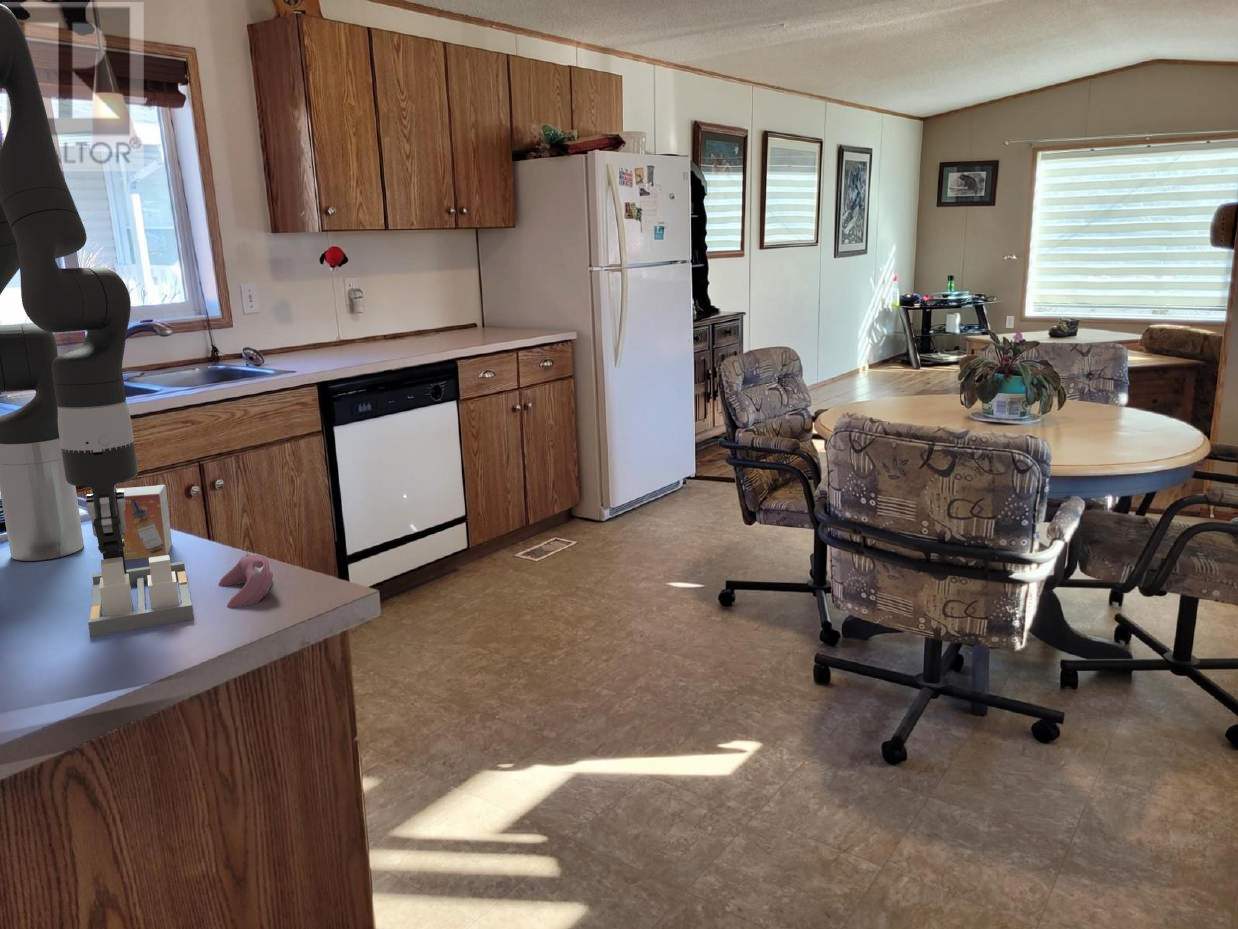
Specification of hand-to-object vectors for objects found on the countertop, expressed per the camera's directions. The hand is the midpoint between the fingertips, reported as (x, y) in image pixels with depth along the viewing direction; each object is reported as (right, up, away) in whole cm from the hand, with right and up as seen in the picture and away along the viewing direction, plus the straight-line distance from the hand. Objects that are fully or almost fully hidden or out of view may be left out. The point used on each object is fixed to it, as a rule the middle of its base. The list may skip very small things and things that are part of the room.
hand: (117, 579), depth 110 cm
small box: (-7, 0, +19) cm, 20 cm away
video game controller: (+14, -4, +5) cm, 15 cm away
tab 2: (+7, -3, -2) cm, 8 cm away
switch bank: (+3, -4, +1) cm, 5 cm away
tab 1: (+1, -4, -2) cm, 5 cm away
